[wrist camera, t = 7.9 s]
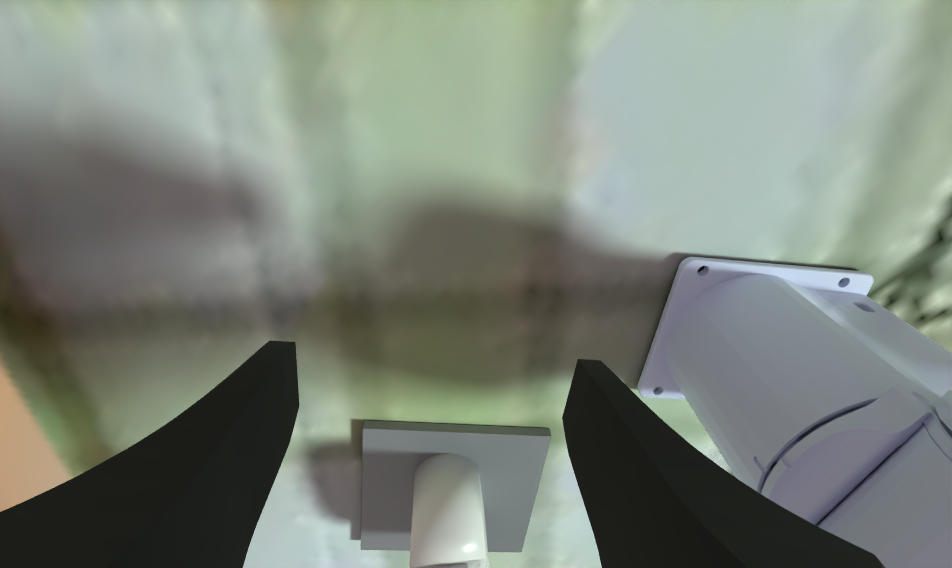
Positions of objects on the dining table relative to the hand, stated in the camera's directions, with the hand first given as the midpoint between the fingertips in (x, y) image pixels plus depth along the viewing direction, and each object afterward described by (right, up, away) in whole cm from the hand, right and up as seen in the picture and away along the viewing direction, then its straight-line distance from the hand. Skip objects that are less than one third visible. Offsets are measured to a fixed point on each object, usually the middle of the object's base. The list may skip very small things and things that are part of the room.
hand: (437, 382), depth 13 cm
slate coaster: (0, -9, +16) cm, 19 cm away
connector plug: (0, -10, +16) cm, 19 cm away
